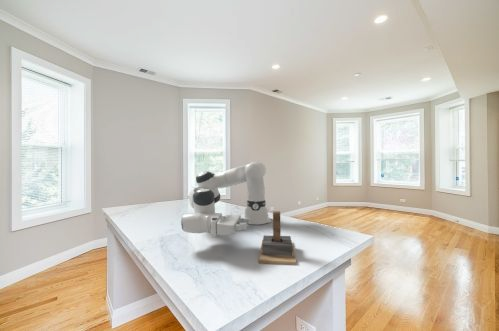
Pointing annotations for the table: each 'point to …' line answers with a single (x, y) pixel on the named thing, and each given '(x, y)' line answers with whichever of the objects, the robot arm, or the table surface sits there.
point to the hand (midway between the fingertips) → (248, 223)
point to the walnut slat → (276, 226)
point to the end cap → (277, 251)
